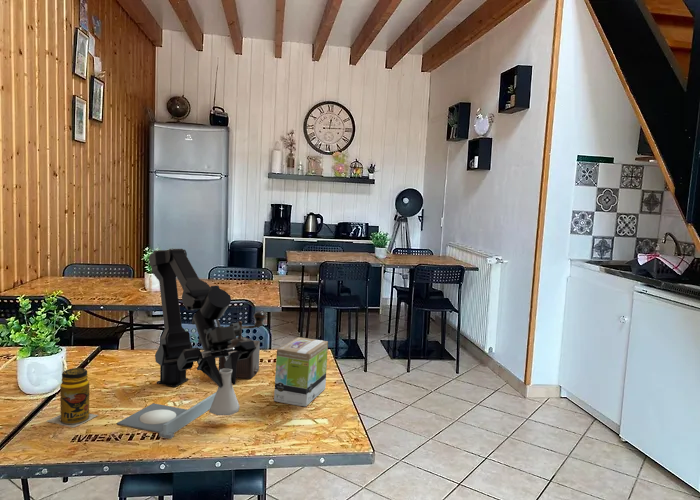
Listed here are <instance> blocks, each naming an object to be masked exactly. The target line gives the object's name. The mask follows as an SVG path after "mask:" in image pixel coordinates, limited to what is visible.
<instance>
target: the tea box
mask: <svg viewBox="0 0 700 500" xmlns="http://www.w3.org/2000/svg"><path fill="white" fill-rule="evenodd" d="M328 347H329V341H327V340H322V339H320V340H319V339H313V338H307V337H299V336H298V337H296V338H294V339H292V340H291V341H288V342H287V343H285V344H283V345H282V346H279V348H277V349H276V357H275V358H276V360H275V361H276V362H275V373H274V374H275V376H274V393H273V401H274V402H278V403H282V404H289V405H293V406H299V407H307V406H308V405H309V404H310V403H311V402H313V400H315V398H317V397H318V396H319V395H320V394H321V393H322V392H324V390H325V389H326V383H327V382H326V381H327V366H328V365H327V364H328V352H329V351H328V349H329V348H328ZM325 391H326V390H325Z"/></svg>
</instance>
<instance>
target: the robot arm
mask: <svg viewBox="0 0 700 500" xmlns="http://www.w3.org/2000/svg"><path fill="white" fill-rule="evenodd" d="M187 253H188V252H187V251H186V249H183V248H169V249H161V250H160V249H155V250H153V252H152V253H150V254H149V257H148V262H149V265H150V268H151V272H152V274H153V275H154V277H155V278H156V279H157V280H158V283H159V291H160V299H161V301H160V302H161V309H162V316H163V318H162V319H163V326H164V330H163V333H162V335H161V336H160V338H159V346H158V347H157V350H156V353H155V354H154V357H155V363H156V364H158V365H159V366H160V369H159V370H160V371H159V373H160V374H159V375H160V376H159V378H160V379H159V380H157V381H156V384H157V385H161V386H167V387H173V388H176V387H178V386H179V385H182V384H184V383H185V382H188V381H189V378H188V377H187V371H188V370H191V369H192V368H193V367H194V364H195V362H196V363H197V367H196V370H197V371H201V372H202V373H203V374H205V375H206V376H207V377H208V378H209V379H210V380H212V382H213V383H215V384H216V385H217V387H218V386H219V387H220V388H222V386H223V383H222V379H221V377H220V374H219V368H218V366H217V363H216V359H219V358H220V357H225V359H226V362H225V363H224V366H225V368H229V369H232V370H233V371H232V374H231V380H232V386H235V385H236V383H237V378H236V365H237V361H238V360H244V359H247V358H249V357H250V356H251V354H252V353H253V352H254V350H255V349H256V345H255V342H254V341H255V340H254V339H251V340H244V341H239V342H238V343H237V345H236V346H235V347H232V348H228V345H230V344H231V343H232V342H231V340H233V339H236V338H237V337H238V336H239V335H241V333H242V332H241V327H240V325H239V323H238V322H232V323H230V324H229V326H224V325H221V323H220V321H219V319H221V318H222V317H223V315H224V314H225V313H226V310H227V309H228V308H229V306H230V305H231V302H232V298H231V295H230V294H229V293H228V292H227V291H226V290H224V289H222V288H220V286H219V285H209V284H208V283H207V282H206V281H204V280H202V279H200V277H199V276H198V274H197V272H196V270H195V268H194V267H193V265H192V263H191V262H190V259H189V258H188V256H187V255H188V254H187ZM177 280H178V282H179V284H180V286H181V288H182V290H183V291H182V294H181V300H182V301H181V302H182V304H183V306H184V307H185V309H186V310H187V311H195V313H194V314H193V317H192V320H191V324H192V325H195V328H196V330H197V334H198V337H199V338H198V340H197V341H198V344H199V345H200V344H201V347H202V349H203V350H202V351H201V348H199V347H193V345H192V344H193V343H192V341H191V338H190V337H191V336H190V335H191V334H190V332H189V331H188V330H186V329H184V327H183V325H182V324H183V323H182V317H181V309H180V301H179V300H180V299H179V292H178V283H177ZM242 334H243V333H242ZM253 340H254V341H253Z"/></svg>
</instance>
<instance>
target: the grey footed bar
mask: <svg viewBox="0 0 700 500" xmlns="http://www.w3.org/2000/svg"><path fill="white" fill-rule="evenodd" d="M216 392H217V391H216ZM216 392H214V393H212V394H211V395H209V396H207V397H206V398H204V399H203V400H201V401H199V402H197V403H196V404H195V405H193V406H191V407H190V408H188V409H187V410H186V411H185V412H183V413H181V414H180V415H178V416H177V417H175V418H173V419H172V420H170V421H169V422H167V423H165V424H164V431H162V432H160V433H158V436H159V437H160V438H163V439H169V440H171V439H172V438H174V437H175V433H176V432H178V431H179V430H180V429H182V428H184V427H186V426H187V425H188V424H190V423H191V422H193V421H195V420H196V419H197V418H199V417H200V416H202V415H203V414H205V413H206V412H209V410H210V408H211V405H212V402H213V400H214V397H215V395H216Z"/></svg>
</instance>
